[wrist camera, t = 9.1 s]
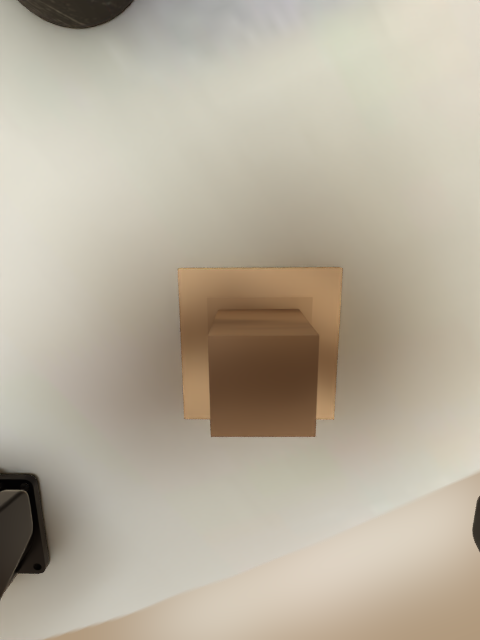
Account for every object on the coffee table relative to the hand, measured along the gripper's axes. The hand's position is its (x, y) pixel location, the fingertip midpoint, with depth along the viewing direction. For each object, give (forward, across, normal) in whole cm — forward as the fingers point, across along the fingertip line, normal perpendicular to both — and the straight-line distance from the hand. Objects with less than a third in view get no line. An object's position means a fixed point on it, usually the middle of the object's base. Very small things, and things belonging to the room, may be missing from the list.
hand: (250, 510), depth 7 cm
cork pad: (+12, -1, 0) cm, 12 cm away
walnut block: (+11, -1, 0) cm, 11 cm away
